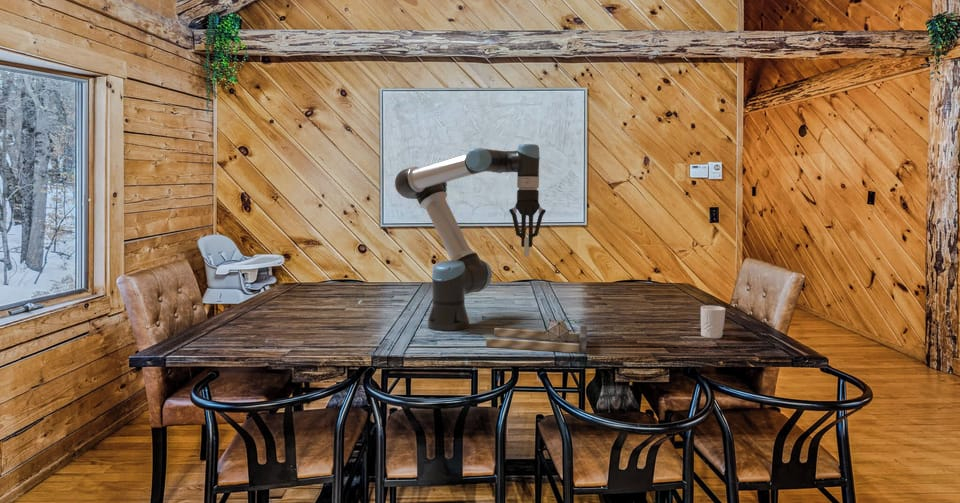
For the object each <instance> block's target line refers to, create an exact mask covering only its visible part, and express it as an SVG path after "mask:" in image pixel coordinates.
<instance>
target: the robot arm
mask: <svg viewBox="0 0 960 503" xmlns="http://www.w3.org/2000/svg"><path fill="white" fill-rule="evenodd" d="M485 172H492V173H498V174H502V173H516V174H517V177H516V178H517V179H516V181H517V182H516V187H517V191H516V203H515V206H514V207H513V208H512V207H511V208H509V210H508V211H509V213H510V215H511V217H512V222H513V225H514V230H515V236H516V237H519V238H520V241H521V243H520V246H521V247H522V248H523V257H525V258H529V257H530V248H532V247H533V241H534V240H533V239H534V238H535V237H537V236H539V231H540V228H541V225H542V220H543V216H544V215H545V214H546V211H547V210H546V209H544V208H543V207H541V205H540V202H539V197H540V191H539V190H538V189H539V188H540V176H539V175H540V147H539V145H538V144H534V143H522V144H518V146H517V149H516V150H498V149H489V148H482V147H477V148H476V147H475V148H472V149H470V150H469V151H468V152H467V153H464V154H461V155H457V156H454V157H451V158H448V159H444V160H441V161H438V162H435V163H432V164H427V165H425V166H421V167H419V166H411V167H409V168H405V169H402V170H400V171H399V172H398V173H397V175H396V177H395V180H394V187H395V189H396V192H397V193H398V194H399V196H401V197H403V198H406V199H408V200H409V199H410V200H412V199H413V200H414V199H415V200H417V203H418V204H419V206H420V208H422V209H425V210H426V212H427V214H428V215H429V216H428V217H429V218H430V219H431V223H432V224H433V226H434V228H435V231H436V232H437V234H438V236H439V238H440V240H441V243H442V244H443V247H444V249H445V251H446V254H448V256H449V259H450V260H445V261H444V260H443V261H440V262H438V263H435V264H434V265H433V268H432V273H431V274H432V276H431V278H432V280H431V281H432V306H431V309H430V312H429V315H428V319H427V327H428V328H429V329H433V330H437V331H459V330H460V331H461V330H464V329H468V328H469V327H470V319H469V315H468V312H467V309H466V306H465V304H466V303H465V299H466V298H465V295H468V294H472V293H478V292H481V291H484V290H486V289H487V288H488V287H489V286H490V285H491V284H490V283H491V282H492V281H491V280H492V277H493V275H492V274H493V272H492V268H491V266H490V264H488V263H487V262H486V261H484V260H481V259H480V257H479V255H478V253H477V252H475V251H472V250H471V248H470V246H469V244H468V242H467V240H466V237H465V236H464V234H463V232H462V230H461V228H460V226H459V223H458V222H457V220H456V218H455V215H454V214H453V212H452V210H451V208H450V205H449V204H448V202H447V200H446V199H447V197H448V192H447V191H448V188H447V186H448V183H447V182H451V181H454V180H458V179H461V178H465V177H469V176H472V175H477V174H481V173H485ZM517 212H518V213H519V214H520V216H521V228H520V226H519V221H518V216H517ZM537 212H538V216H537V221H536V224H535V228H534V216H535V214H536V213H537ZM527 216H528V237H526V236H527V235H526V234H527V233H526V229H527V228H526V226H527V224H526V223H527Z"/></svg>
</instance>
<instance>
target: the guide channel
mask: <svg viewBox="0 0 960 503" xmlns="http://www.w3.org/2000/svg"><path fill="white" fill-rule="evenodd" d="M579 330H580V332H570V331H569V334H568V336H567V338H566V341H567V342H566V341H565V343H559V342H550V340H549V338H548V336H547V334H546V333H543V332H546V330H534V329H532V330H531V329H517V328H503V327H494V332H493V336H494V337H495V338H494V337H486V341H485V342H486V345H485V346H486V348H500V349H501V348H503V349H515V350H517V349H518V350H530V351H542V352H543V351H545V352H556V351H561V352H560V353H571V352H580V353H579V354H586V353H587V352H586V351H587V342H588V325H580V329H579ZM497 337H499V338H497ZM500 337H501V338H500ZM502 337H505V338H502ZM509 338H510V339H509ZM512 338H513V339H512ZM514 338H518V339H514ZM519 338H520V339H519ZM527 339H533V340H527ZM534 339H535V340H534ZM543 340H544V341H543ZM545 340H549V341H545ZM577 341H579V342H578V343H572V342H577Z"/></svg>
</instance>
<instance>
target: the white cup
mask: <svg viewBox="0 0 960 503" xmlns="http://www.w3.org/2000/svg"><path fill="white" fill-rule="evenodd" d="M725 315H726V308H725V307H723V306H719V305H707V304H706V305H701V306H700V335H701V336H702V337H705V338H709V339H721V338H722V337H723V330H724V326H725V325H724V324H725V319H726V318H725V317H726V316H725Z"/></svg>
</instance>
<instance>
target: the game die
mask: <svg viewBox="0 0 960 503" xmlns="http://www.w3.org/2000/svg"><path fill="white" fill-rule="evenodd" d="M548 321H549V323H548V325H547V329H546V330H545V331H546V332H543V333H546V334H547V336H548V338H549V342H559V343H566V338H567V336H568V334H569V332H570V333H572V331H573V330H572V329H570V328H568V326H567V324H566V318H564V319H563V320H552V319H551V318H549V319H548Z"/></svg>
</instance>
